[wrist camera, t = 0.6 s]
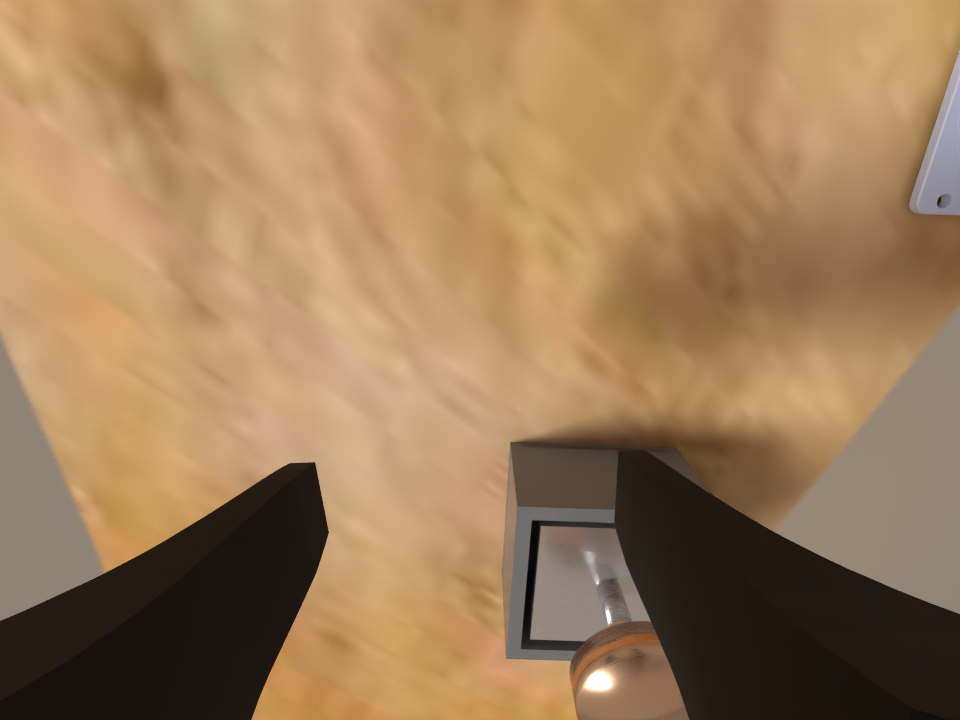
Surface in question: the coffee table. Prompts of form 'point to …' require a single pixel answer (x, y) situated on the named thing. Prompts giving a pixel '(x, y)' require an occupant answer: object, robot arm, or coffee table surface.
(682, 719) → the plunger
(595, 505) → the open grey square tray
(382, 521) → the coffee table surface
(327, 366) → the coffee table surface
